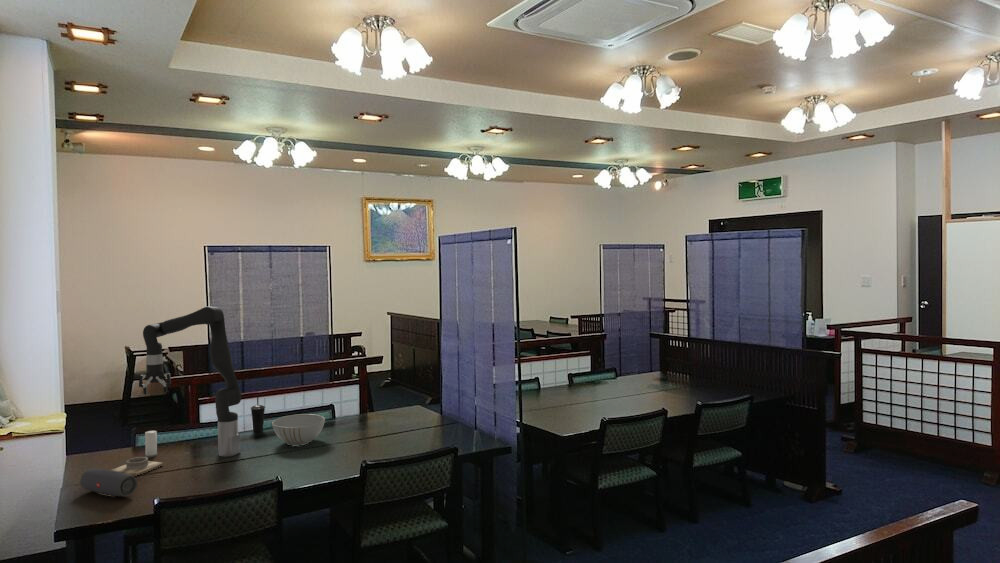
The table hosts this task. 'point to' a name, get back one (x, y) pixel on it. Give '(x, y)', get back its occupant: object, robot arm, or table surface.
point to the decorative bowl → (298, 428)
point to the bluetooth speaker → (108, 482)
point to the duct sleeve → (151, 444)
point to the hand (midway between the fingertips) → (155, 394)
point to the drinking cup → (258, 417)
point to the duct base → (138, 471)
